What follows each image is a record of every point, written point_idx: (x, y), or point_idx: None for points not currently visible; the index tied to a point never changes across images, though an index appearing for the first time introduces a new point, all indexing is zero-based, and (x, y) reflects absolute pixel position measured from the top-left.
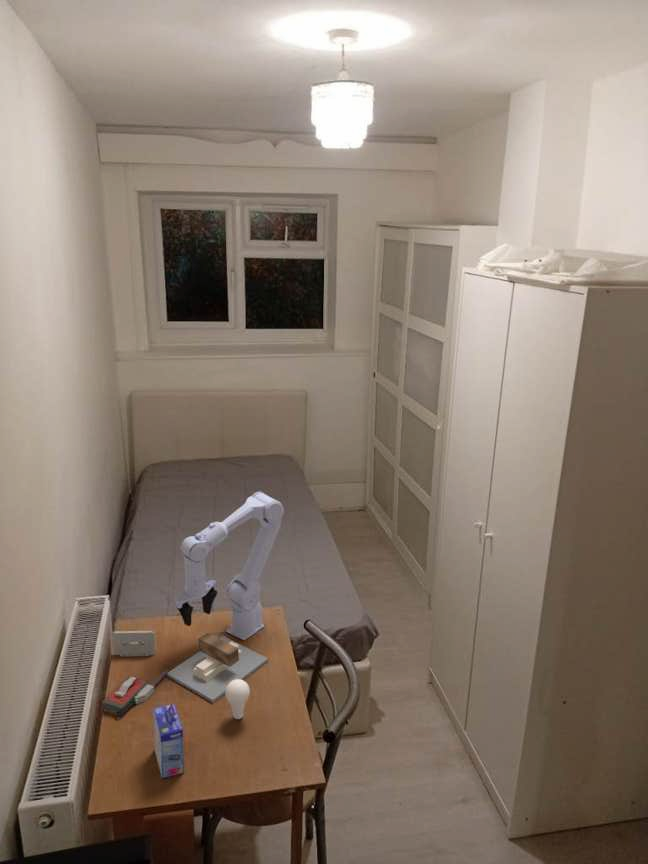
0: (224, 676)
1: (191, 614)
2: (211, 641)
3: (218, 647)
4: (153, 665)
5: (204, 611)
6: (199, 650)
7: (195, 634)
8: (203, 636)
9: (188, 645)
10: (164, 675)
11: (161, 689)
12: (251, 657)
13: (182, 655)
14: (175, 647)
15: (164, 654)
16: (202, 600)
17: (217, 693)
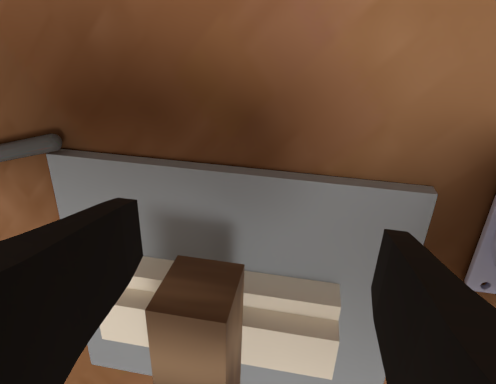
0: None
1: (62, 382)
2: (176, 378)
3: None
4: (48, 30)
5: (384, 245)
6: (176, 258)
7: (397, 10)
8: (179, 322)
9: (279, 61)
10: (31, 155)
11: (4, 184)
12: (345, 373)
13: (196, 99)
14: (220, 6)
15: (138, 3)
16: (435, 308)
17: (120, 362)
